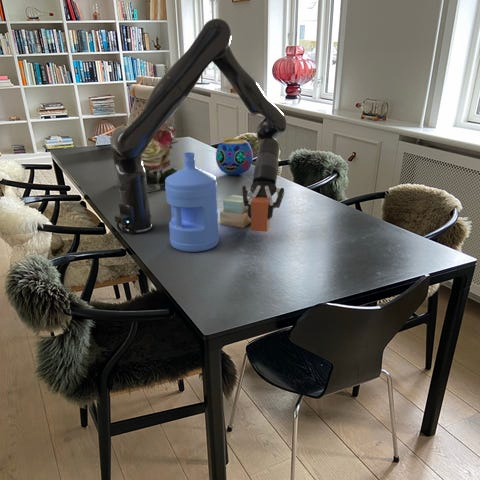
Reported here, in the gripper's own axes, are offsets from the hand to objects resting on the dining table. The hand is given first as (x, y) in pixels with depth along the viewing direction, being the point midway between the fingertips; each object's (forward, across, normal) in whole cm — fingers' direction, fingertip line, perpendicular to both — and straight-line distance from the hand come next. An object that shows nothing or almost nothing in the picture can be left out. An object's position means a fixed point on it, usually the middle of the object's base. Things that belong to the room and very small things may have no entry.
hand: (259, 217), depth 154 cm
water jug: (+10, -20, +1) cm, 22 cm away
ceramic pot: (-53, -25, +64) cm, 87 cm away
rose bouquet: (-36, -58, +47) cm, 83 cm away
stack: (-6, -11, +17) cm, 21 cm away
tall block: (+2, 0, +4) cm, 5 cm away
